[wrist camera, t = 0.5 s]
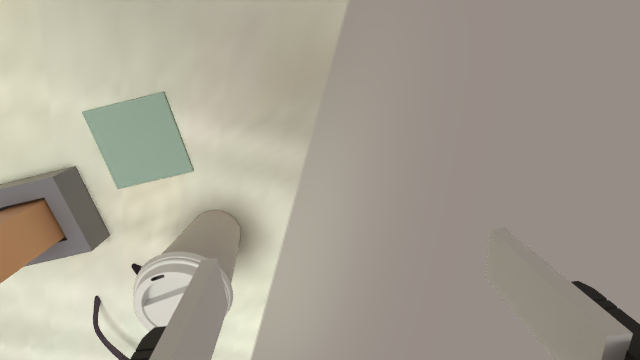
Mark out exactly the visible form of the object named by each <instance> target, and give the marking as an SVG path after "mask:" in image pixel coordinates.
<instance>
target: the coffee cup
mask: <svg viewBox="0 0 640 360" xmlns="http://www.w3.org/2000/svg"><path fill="white" fill-rule="evenodd" d="M240 236H241V230H240V226H239V224H238V222H237V221H236V219H235V218H234V217H233V216H231V215H230V214H228V213H226V212H223V211H219V210H211V211H207V212H204V213H202V214H201V215H199V216H198V217H197V218H196V219H195V220H194V221H193V222H192V223H191V224H190V225H189V226H188V227H187V229H186V230H185V231H184V232H183V233H182V234H181V235H180V236H179V237H178V238H177V239H176V240H175V241H174V242H173V243H172V244H171V245H170V246H169V247H168V248H167V249H166V250H165V251H164V252H163V253H162V254H161V255H158V256H156V257H154V258H152V259H151V260H149V261H148V262H147V263H146V264H145V265H144V266H143V267H142V268H141V270H140V271H139V273H138V275H137V278H136V281H135V284H134V293H133V295H134V309H135V313H136V315H137V317H138V319H139V320H140V322H141V323H142V324H143V325H144V326H145V327H146V328H147V329H148V330H150V331H151V330H152V329H153V328H154V327H162V326H167V325H168V323H169V321H170V319H171V317H172V315H173V313H174V311H175V309H176V307H177V306H178V304H179V302H180V300H181V298H182V296H183V294H184V292H185V290H186V288H187V287H188V285H189V283H190V281H191V279H192V277H193V275H194V273H195V271H196V270H197V268H198V266H199V264H200V262H201V260H206V259H216V258H218V263H219V267H220V271H221V276H222V280H223V284H224V288H225V293H226V297H227V301H228V308H227V311H226V314H227V313H228V311H229V310H230V307H231V305H232V300H233V290H232V286H231V282H232V277H233V271H234V266H235V261H236V256H237V251H238V247H239V242H240ZM226 314H225V316H226Z"/></svg>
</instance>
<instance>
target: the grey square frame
mask: <svg viewBox="0 0 640 360" xmlns="http://www.w3.org/2000/svg"><path fill="white" fill-rule="evenodd" d="M39 198H45V200H46V202H47V203H48V205H49V207H50V209H51V211H52V212H53V214H54V216H55V218H56V220H57V221H58V223H59V225H60V227H61V229H62V230H63V232H64V234H65V237H64V238H63V239H61V240H60V241H58V242H57V243H56V244H54V245H53V246H51V247H50V248H49V249H47V250H46V251H45V252H43V253H42V254H40V255H39V256H38V257H36V258H35V259H33V260H32V261H31V262H29V263H28V264H26V265H25V266H29V265H33V264H37V263H42V262H46V261H50V260H55V259H59V258H64V257H68V256H72V255H77V254H81V253H85V252H90V251H93V250H94V249H95V248H96V247H97V246H98V245H99V244H101V243H102V242H103V241H104V240H105V239H106V238H107V237H108V236H110V234H109V232H108V230H107V228H106V227H105V225H104V223H103V221H102V219H101V217H100V215H99V213H98V211H97V209H96V207H95V205H94V203H93V201H92V199H91V197H90V195H89V193H88V191H87V189H86V187H85V185H84V183H83V181H82V179H81V177H80V175H79V173H78V171H77V169H76V167H71V168H66V169H62V170H58V171H54V172H50V173H46V174H41V175H37V176H33V177H29V178H25V179H21V180H16V181H12V182H8V183H4V184H0V212H1V211H3V210H5V209H7V208H9V207H11V206H13V205H15V204H18V203H22V202H27V201H31V200H35V199H39Z"/></svg>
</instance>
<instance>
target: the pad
mask: <svg viewBox="0 0 640 360" xmlns="http://www.w3.org/2000/svg"><path fill="white" fill-rule="evenodd" d="M82 113H83V115H84V118H85V120H86V122H87V124H88V126H89V128H90V130H91V133H92V135H93V137H94V139H95V141H96V143H97V145H98V148H99V150H100V152H101V154H102V156H103V158H104V160H105V162H106V165H107V167H108V169H109V171H110V173H111V175H112V177H113V180H114V182H115V184H116V186H117V188H118V189H120V188H125V187H129V186H133V185H137V184H142V183H146V182H150V181H154V180H159V179H163V178H167V177H171V176H176V175H180V174H184V173H188V172H193V171H194V170H193V167H192V165H191V162H190V159H189V157H188V154H187V151H186V149H185V146H184V143H183V141H182V138H181V135H180V133H179V130H178V128H177V125H176V122H175V120H174V117H173V114H172V112H171V109H170V106H169V104H168V101H167V98H166V96H165V93H164V92H162V93H158V94H154V95H150V96H145V97H141V98H137V99H133V100H129V101H125V102H121V103H117V104H113V105H109V106H105V107H101V108H97V109H93V110H88V111H84V112H82Z"/></svg>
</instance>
